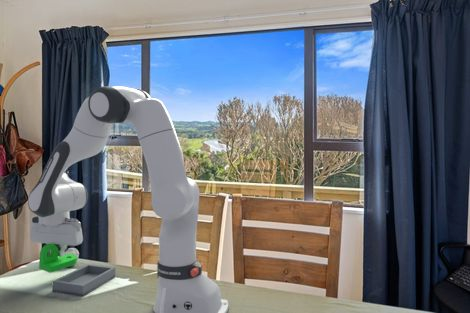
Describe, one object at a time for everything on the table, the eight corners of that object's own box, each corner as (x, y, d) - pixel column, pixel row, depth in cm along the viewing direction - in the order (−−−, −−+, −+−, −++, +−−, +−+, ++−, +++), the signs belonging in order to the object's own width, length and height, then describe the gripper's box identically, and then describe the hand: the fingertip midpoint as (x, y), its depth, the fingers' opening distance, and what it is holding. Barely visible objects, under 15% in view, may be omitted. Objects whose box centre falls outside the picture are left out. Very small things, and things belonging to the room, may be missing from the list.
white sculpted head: (82, 263, 140) (82, 246, 140) (71, 269, 134) (71, 251, 133) (69, 262, 141) (69, 245, 141) (57, 268, 135) (57, 250, 134)
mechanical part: (50, 272, 116) (51, 249, 116) (39, 268, 119) (40, 245, 118) (80, 262, 127) (81, 241, 126) (69, 258, 129) (70, 237, 129)
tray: (115, 276, 126) (115, 267, 126) (83, 296, 110) (82, 285, 110) (88, 273, 130) (87, 264, 130) (52, 291, 114) (52, 281, 113)
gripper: (86, 217, 123) (87, 255, 123) (40, 214, 129) (42, 251, 129) (73, 220, 117) (74, 261, 117) (26, 218, 123) (27, 256, 123)
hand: (57, 255), depth 123 cm, fingers closed on mechanical part, 2 cm apart
